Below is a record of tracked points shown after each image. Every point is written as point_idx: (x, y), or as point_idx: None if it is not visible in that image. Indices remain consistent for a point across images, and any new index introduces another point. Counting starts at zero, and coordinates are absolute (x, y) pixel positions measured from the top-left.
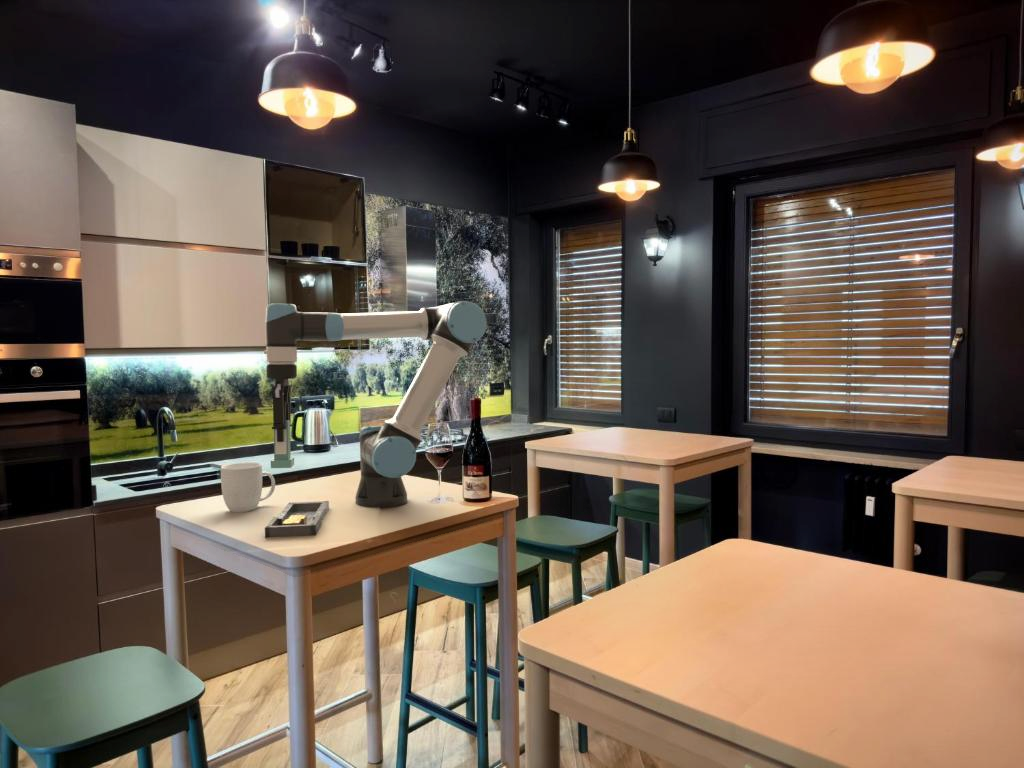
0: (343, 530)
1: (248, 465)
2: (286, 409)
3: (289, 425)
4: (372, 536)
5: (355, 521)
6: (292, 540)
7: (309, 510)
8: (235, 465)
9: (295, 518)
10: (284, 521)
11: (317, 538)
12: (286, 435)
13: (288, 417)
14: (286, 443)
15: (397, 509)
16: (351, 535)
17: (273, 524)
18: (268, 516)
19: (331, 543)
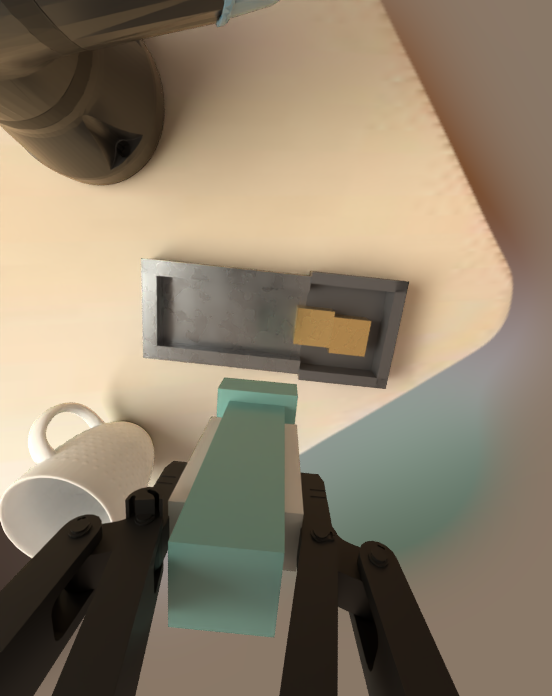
0: (362, 217)
1: (11, 505)
2: (117, 692)
3: (216, 510)
4: (443, 141)
5: (286, 186)
6: (402, 327)
7: (167, 305)
8: (22, 537)
9: (327, 331)
10: (347, 353)
11: (408, 276)
12: (285, 480)
13: (144, 574)
14: (290, 451)
15: (182, 50)
16: (413, 197)
17: (351, 374)
18: (189, 390)
19: (460, 244)
